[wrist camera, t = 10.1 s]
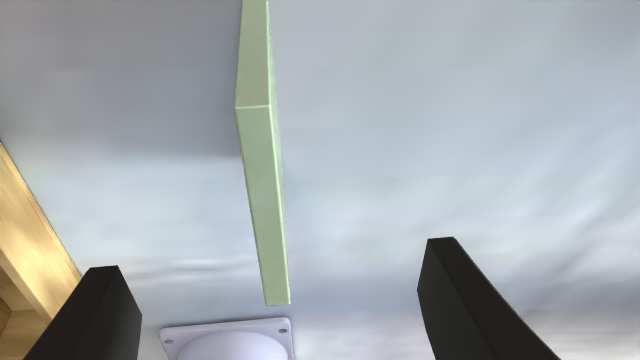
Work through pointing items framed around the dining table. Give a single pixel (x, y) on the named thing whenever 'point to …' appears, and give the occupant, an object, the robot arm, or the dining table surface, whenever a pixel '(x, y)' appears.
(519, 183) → the dining table surface
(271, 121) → the sage coaster
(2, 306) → the coaster basket
